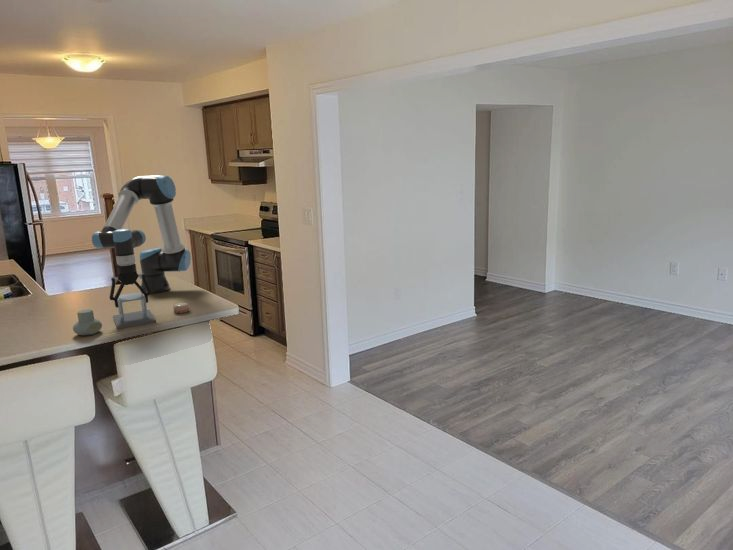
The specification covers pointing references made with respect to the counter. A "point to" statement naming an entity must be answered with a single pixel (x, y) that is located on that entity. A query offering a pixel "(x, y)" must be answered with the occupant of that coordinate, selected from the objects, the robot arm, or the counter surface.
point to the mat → (133, 319)
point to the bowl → (181, 307)
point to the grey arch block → (131, 298)
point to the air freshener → (87, 323)
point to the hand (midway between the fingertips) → (133, 311)
